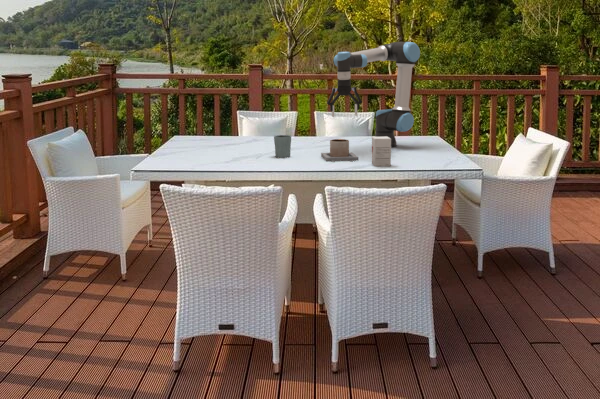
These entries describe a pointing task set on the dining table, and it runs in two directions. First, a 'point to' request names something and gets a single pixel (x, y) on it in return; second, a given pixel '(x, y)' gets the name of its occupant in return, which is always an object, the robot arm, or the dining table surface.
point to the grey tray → (327, 157)
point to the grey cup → (282, 146)
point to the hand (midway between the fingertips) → (344, 116)
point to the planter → (339, 148)
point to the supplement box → (381, 151)
